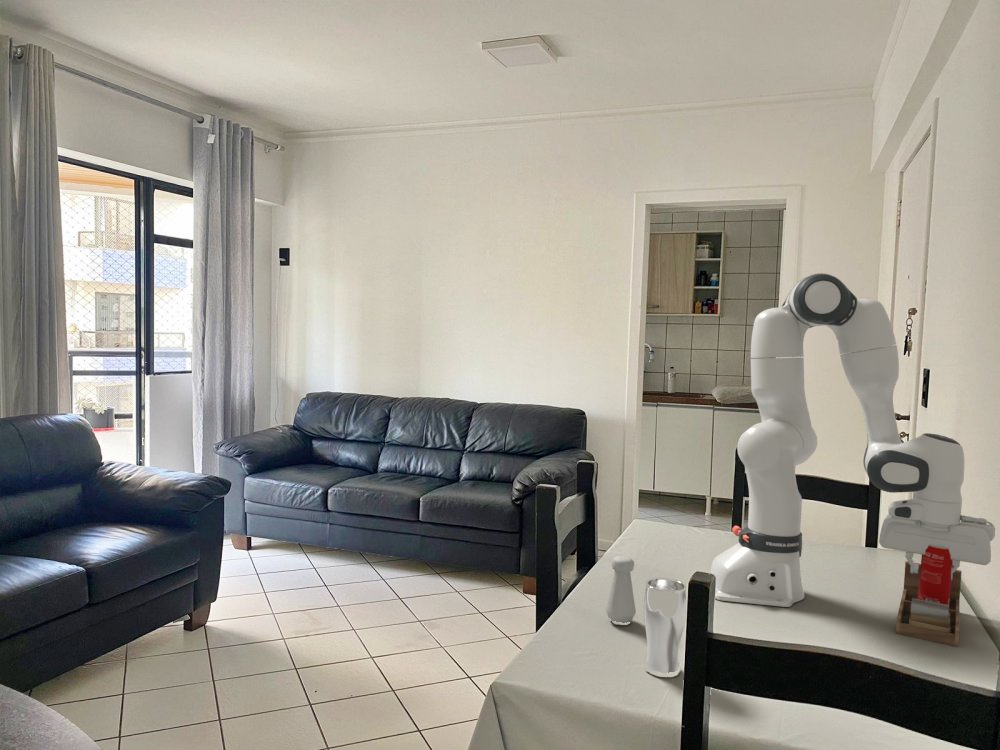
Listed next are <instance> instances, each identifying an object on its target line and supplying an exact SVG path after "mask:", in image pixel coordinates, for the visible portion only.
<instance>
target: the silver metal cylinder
mask: <svg viewBox="0 0 1000 750" xmlns="http://www.w3.org/2000/svg"><path fill="white" fill-rule="evenodd" d="M908 624H910V625H914V626H919V627H924V628H928V629H933V630H938V631H942V632H947V633H951V625H950V613H949V605H945V604H940V603H935V602H930V601H925V600H920V599H915V598H912V603H911V613H910V616H909V619H908Z"/></svg>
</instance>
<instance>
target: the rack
mask: <svg viewBox="0 0 1000 750" xmlns="http://www.w3.org/2000/svg"><path fill="white" fill-rule="evenodd" d="M914 563H915V564H918V565H919V569H918V570H919V571H918V574H912V573H910V569H911V565H910V564H909V562H908V560H905V565H904V579H903V580H904V581H903V590H902V595H901V598H900V603H899V608H898V611H897V615H896V616H897V617H896V626H895V633H896V634H899V635H904V636H908V637H913V638H917V639H921V640H927V641H931V642H933V643H938V644H939V643H940V644H944V645H948V646H953V647H959V642H960V641H959V640H960V639H959V638H960V604H961V603H960V600H961V598H960V596H961V585H962V570H960V569H957V570H956V571H955V572H954V573H953V577H952V581H951V591H950V601H949V613H950V626H954V633H951V632H950V633H947V632H942V631H938V630H933V629H928V628H924V627H919V626H914V625H910V624H909V623H905V622H904V623H903V622H902V621H903V617H905V616H906V617H910V613H911V603H912V598H915V599H918V589H919V579H920V568H921V563H919V562H918V563H917V562H914Z"/></svg>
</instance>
